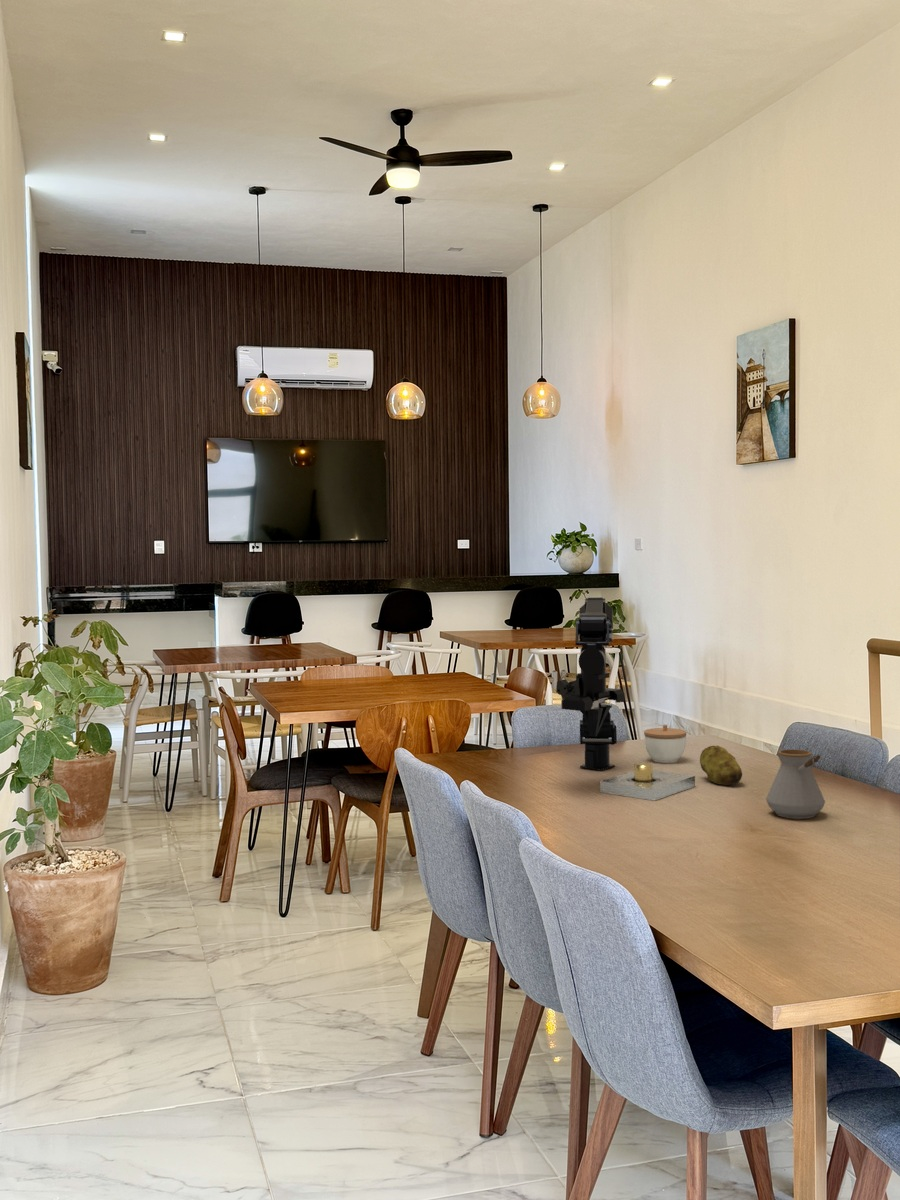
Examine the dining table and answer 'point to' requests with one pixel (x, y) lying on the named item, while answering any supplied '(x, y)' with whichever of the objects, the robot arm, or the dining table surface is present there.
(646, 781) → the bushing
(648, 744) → the lidded jar
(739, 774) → the potato
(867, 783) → the dining table surface
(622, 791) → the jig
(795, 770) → the coffee pot
